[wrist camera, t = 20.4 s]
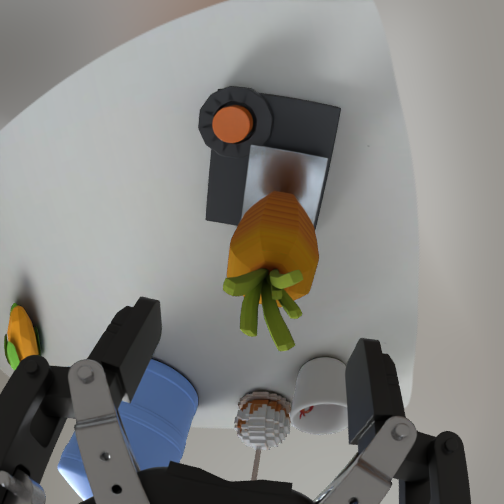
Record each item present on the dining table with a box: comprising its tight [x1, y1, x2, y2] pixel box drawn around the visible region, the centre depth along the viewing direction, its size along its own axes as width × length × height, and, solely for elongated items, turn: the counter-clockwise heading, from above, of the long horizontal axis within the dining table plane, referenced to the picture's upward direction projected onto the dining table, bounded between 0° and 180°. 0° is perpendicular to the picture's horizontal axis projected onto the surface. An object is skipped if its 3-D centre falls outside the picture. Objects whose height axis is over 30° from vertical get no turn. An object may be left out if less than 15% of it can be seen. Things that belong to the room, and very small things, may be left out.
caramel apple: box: [234, 392, 291, 480], centre depth 38 cm, size 8×8×15 cm
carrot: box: [223, 191, 319, 351], centre depth 19 cm, size 5×5×15 cm
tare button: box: [212, 105, 253, 143], centre depth 23 cm, size 3×3×2 cm
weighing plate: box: [241, 144, 328, 226], centre depth 25 cm, size 8×6×1 cm
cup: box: [290, 357, 348, 435], centre depth 36 cm, size 11×8×8 cm
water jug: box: [58, 359, 198, 501], centre depth 35 cm, size 16×16×28 cm
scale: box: [198, 86, 341, 230], centre depth 26 cm, size 12×11×3 cm
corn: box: [4, 303, 41, 370], centre depth 43 cm, size 7×8×20 cm
